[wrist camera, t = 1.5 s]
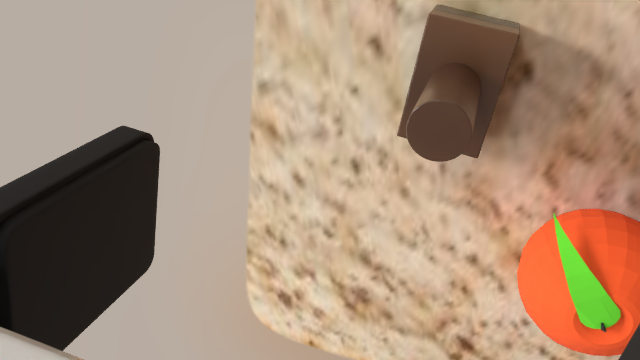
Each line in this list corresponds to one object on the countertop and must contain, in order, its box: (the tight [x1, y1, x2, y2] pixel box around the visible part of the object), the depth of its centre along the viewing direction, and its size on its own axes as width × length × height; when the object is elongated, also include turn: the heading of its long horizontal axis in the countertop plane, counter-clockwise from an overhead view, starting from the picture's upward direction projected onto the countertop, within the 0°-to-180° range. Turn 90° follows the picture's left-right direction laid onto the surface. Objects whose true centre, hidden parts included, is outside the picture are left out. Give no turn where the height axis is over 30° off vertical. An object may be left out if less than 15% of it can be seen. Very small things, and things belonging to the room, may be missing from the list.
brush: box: [397, 5, 519, 162], centre depth 24 cm, size 6×4×9 cm, turn 170°
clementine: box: [517, 209, 640, 356], centre depth 27 cm, size 8×7×7 cm
